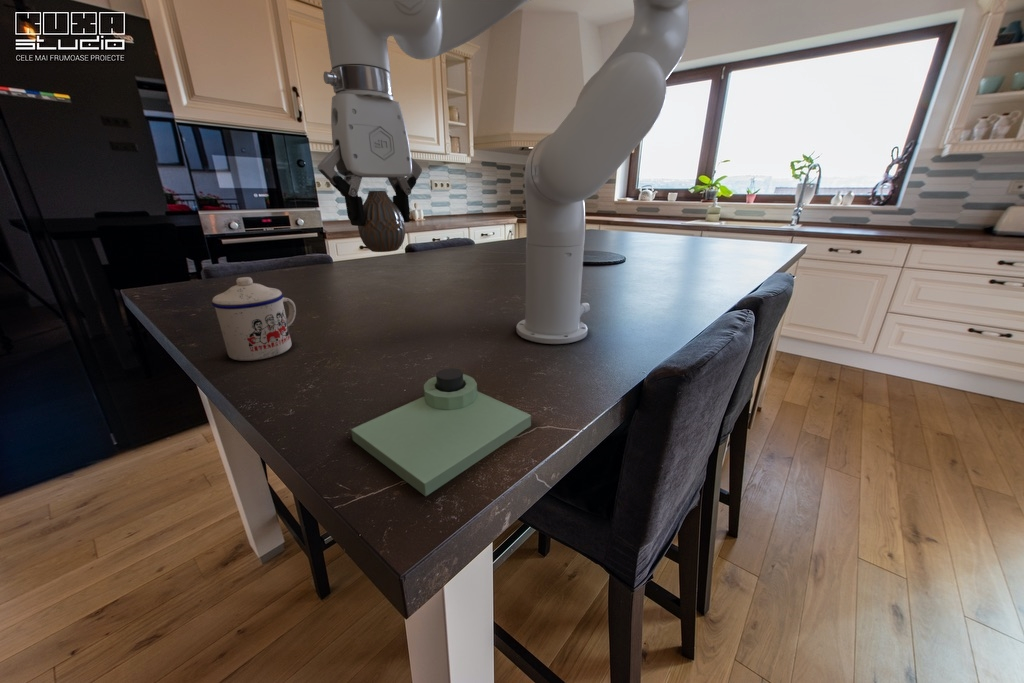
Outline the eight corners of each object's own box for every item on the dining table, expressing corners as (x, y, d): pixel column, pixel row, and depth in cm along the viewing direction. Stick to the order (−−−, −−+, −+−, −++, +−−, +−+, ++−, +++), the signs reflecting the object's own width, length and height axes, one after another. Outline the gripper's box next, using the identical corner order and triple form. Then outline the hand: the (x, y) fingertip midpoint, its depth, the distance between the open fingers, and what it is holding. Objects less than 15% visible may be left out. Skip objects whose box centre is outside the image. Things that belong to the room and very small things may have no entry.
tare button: (451, 379, 47) (451, 365, 47) (468, 386, 45) (468, 372, 45) (431, 387, 45) (430, 374, 45) (448, 396, 43) (448, 382, 43)
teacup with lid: (256, 366, 57) (236, 286, 53) (212, 357, 60) (190, 281, 56) (320, 338, 68) (307, 271, 63) (280, 332, 70) (265, 267, 66)
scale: (454, 390, 50) (453, 368, 49) (531, 426, 42) (531, 401, 41) (350, 439, 40) (346, 413, 39) (425, 497, 33) (422, 467, 32)
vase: (394, 254, 58) (386, 190, 55) (352, 253, 60) (342, 191, 56) (414, 247, 64) (408, 190, 61) (376, 247, 66) (369, 191, 63)
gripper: (310, 70, 46) (337, 229, 52) (431, 94, 58) (441, 220, 64) (286, 82, 51) (313, 226, 57) (403, 101, 62) (414, 219, 69)
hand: (381, 222), depth 60 cm, fingers closed on vase, 6 cm apart
